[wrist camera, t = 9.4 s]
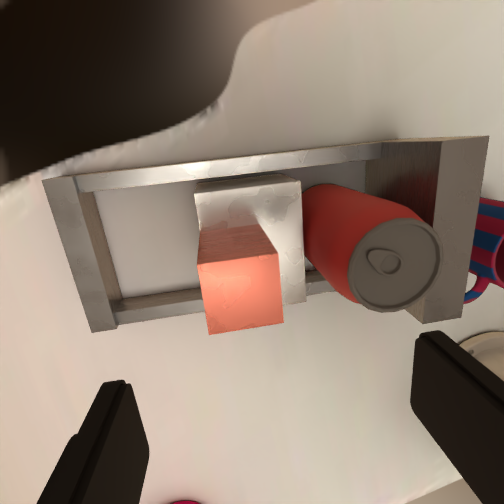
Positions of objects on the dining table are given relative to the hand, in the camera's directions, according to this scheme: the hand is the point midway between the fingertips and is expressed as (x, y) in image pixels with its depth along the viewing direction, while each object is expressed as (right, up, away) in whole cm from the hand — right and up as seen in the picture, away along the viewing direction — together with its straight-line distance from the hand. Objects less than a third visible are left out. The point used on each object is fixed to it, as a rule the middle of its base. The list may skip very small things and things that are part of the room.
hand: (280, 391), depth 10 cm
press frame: (-1, +7, +17) cm, 19 cm away
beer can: (+5, +8, +18) cm, 20 cm away
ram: (-1, +6, +17) cm, 18 cm away
